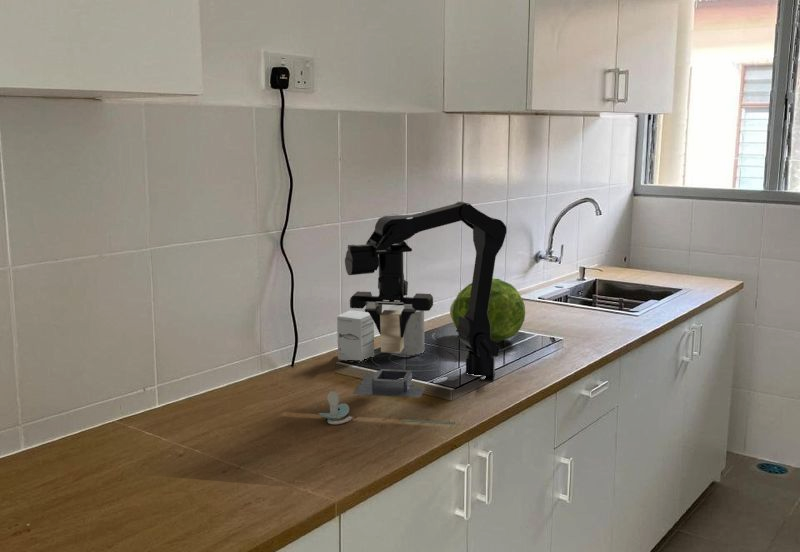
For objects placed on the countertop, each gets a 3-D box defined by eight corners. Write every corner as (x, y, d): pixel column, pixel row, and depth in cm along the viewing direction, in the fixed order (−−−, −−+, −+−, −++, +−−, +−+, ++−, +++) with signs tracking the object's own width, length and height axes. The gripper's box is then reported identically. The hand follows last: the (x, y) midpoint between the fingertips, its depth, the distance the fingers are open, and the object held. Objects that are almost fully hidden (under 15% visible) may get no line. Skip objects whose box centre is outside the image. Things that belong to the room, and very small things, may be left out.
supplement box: (337, 362, 213) (335, 315, 210) (351, 354, 219) (350, 309, 217) (361, 366, 210) (360, 318, 207) (375, 357, 216) (374, 312, 213)
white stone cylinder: (405, 359, 214) (405, 314, 212) (382, 351, 221) (381, 308, 219) (432, 352, 220) (431, 308, 218) (408, 344, 227) (408, 302, 225)
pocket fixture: (430, 380, 198) (430, 367, 197) (420, 401, 184) (420, 387, 184) (366, 377, 201) (366, 364, 200) (352, 396, 188) (352, 383, 187)
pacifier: (359, 418, 175) (339, 411, 179) (359, 391, 174) (338, 384, 178) (335, 429, 170) (315, 421, 174) (335, 401, 168) (314, 394, 172)
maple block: (403, 347, 192) (403, 310, 190) (399, 353, 188) (399, 315, 186) (385, 346, 193) (384, 310, 191) (380, 352, 189) (380, 314, 187)
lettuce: (475, 328, 244) (463, 271, 240) (540, 332, 228) (529, 271, 224) (435, 352, 231) (422, 292, 227) (502, 357, 215) (489, 293, 211)
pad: (460, 405, 181) (460, 403, 181) (454, 424, 171) (454, 422, 170) (412, 402, 183) (412, 400, 183) (403, 421, 173) (403, 418, 173)
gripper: (436, 265, 192) (437, 328, 195) (360, 263, 196) (362, 325, 199) (428, 275, 181) (429, 342, 185) (348, 273, 185) (350, 338, 189)
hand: (392, 336), depth 190 cm, fingers closed on maple block, 4 cm apart
